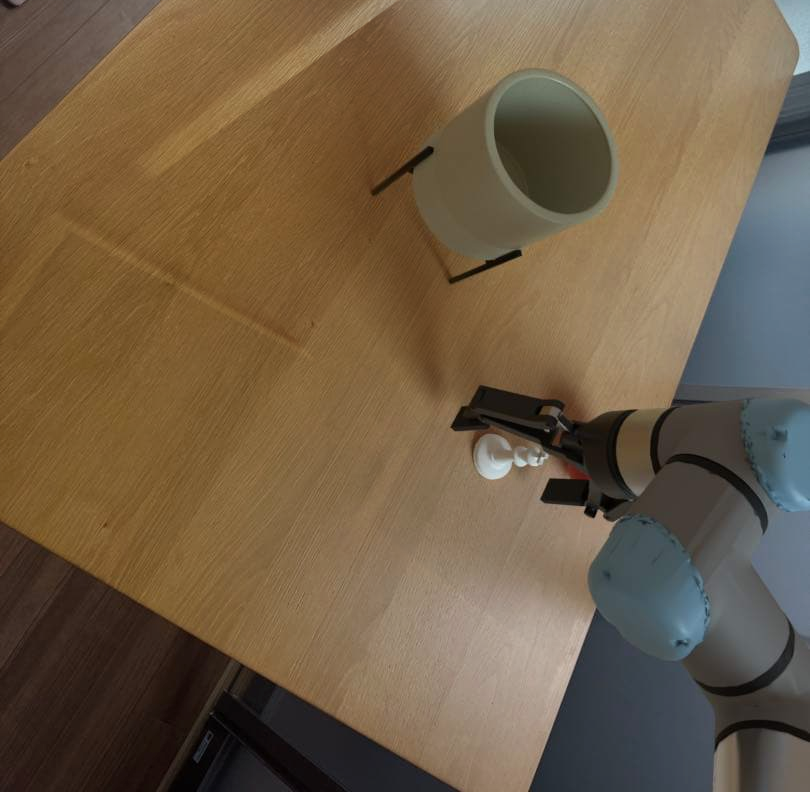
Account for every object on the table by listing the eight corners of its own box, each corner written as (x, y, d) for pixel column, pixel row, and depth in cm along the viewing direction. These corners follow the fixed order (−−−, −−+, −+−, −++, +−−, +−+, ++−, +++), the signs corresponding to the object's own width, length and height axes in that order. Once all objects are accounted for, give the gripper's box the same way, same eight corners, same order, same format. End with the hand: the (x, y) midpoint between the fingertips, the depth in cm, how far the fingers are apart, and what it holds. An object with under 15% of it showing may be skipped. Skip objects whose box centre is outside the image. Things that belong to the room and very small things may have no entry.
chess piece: (467, 468, 80) (520, 469, 71) (481, 426, 82) (534, 422, 73) (502, 486, 81) (558, 489, 73) (515, 444, 83) (571, 443, 75)
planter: (512, 222, 91) (647, 156, 71) (437, 306, 83) (566, 257, 64) (433, 129, 89) (549, 35, 70) (349, 205, 81) (454, 123, 62)
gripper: (752, 498, 66) (594, 489, 84) (559, 328, 61) (436, 359, 79) (728, 575, 62) (569, 549, 81) (522, 403, 57) (401, 417, 75)
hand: (503, 455), depth 80 cm, fingers open, 13 cm apart
